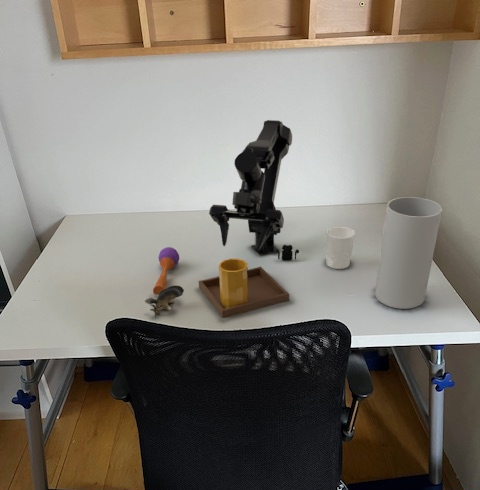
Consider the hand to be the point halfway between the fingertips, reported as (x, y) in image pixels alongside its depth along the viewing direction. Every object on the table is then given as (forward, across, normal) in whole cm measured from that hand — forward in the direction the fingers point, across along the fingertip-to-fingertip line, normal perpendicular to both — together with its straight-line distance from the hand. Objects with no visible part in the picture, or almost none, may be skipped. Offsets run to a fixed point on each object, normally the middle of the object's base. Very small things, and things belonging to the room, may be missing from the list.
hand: (241, 247), depth 137 cm
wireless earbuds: (-6, +8, +24) cm, 26 cm away
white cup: (-6, +23, +25) cm, 35 cm away
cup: (+14, 0, +4) cm, 14 cm away
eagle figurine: (+19, -16, 0) cm, 25 cm away
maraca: (+8, -23, +11) cm, 27 cm away
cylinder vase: (+5, +41, +14) cm, 43 cm away
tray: (+11, +1, +8) cm, 13 cm away
